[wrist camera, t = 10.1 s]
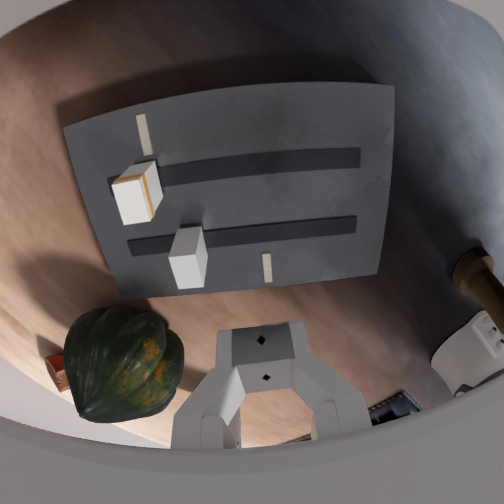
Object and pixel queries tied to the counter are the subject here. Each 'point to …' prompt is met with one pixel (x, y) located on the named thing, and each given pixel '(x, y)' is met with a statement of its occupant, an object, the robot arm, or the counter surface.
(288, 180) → the console
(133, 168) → the block
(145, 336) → the squash
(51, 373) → the fruit slice
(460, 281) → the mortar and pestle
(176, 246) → the block
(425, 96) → the counter surface
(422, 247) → the counter surface
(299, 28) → the counter surface
